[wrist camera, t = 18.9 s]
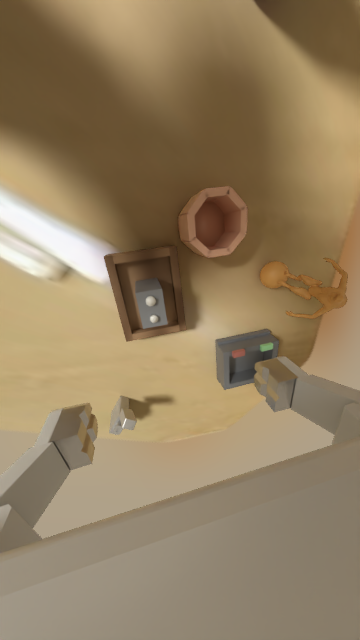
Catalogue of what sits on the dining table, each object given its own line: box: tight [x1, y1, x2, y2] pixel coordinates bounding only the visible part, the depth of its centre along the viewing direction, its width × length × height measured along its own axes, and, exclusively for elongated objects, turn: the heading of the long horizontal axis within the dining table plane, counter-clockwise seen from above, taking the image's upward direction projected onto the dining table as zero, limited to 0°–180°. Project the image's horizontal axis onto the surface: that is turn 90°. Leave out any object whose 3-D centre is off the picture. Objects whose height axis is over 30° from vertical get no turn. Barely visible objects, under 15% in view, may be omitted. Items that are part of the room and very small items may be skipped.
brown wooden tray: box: [104, 246, 186, 342], centre depth 28 cm, size 9×12×2 cm
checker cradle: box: [216, 329, 279, 390], centre depth 36 cm, size 10×9×4 cm
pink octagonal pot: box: [178, 186, 247, 258], centre depth 25 cm, size 7×7×5 cm
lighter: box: [109, 396, 137, 435], centre depth 33 cm, size 7×2×8 cm, turn 150°
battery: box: [135, 278, 168, 329], centre depth 25 cm, size 3×4×6 cm, turn 7°
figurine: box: [260, 258, 348, 319], centre depth 27 cm, size 8×6×12 cm
